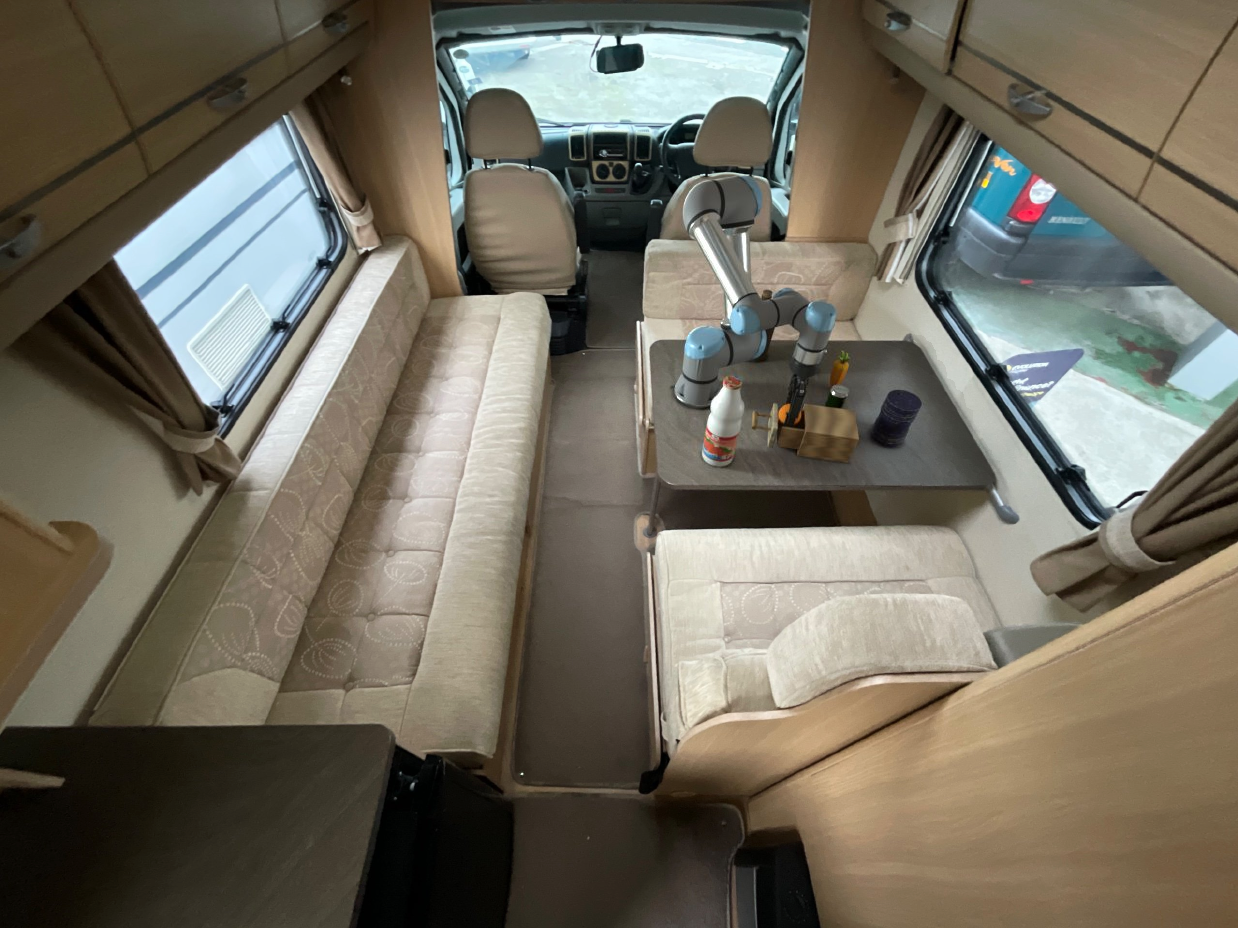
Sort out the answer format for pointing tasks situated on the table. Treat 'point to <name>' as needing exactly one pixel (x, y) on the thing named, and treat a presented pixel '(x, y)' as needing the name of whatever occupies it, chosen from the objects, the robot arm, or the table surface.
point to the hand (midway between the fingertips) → (786, 422)
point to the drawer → (781, 429)
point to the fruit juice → (724, 424)
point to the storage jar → (895, 418)
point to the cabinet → (828, 433)
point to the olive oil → (769, 332)
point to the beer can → (837, 397)
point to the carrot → (839, 370)
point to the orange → (783, 414)
